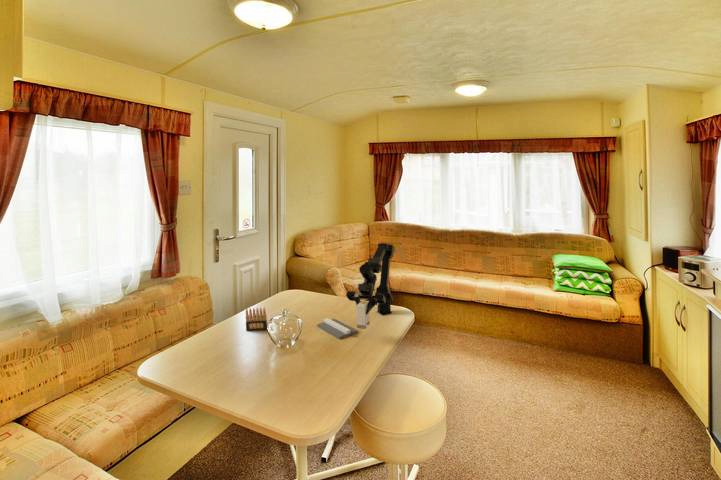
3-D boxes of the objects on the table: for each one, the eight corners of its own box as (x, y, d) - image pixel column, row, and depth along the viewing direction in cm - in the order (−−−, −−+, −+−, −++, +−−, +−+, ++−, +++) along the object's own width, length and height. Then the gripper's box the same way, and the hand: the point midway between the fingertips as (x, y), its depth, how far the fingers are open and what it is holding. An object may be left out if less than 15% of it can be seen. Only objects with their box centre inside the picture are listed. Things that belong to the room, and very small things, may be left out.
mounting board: (317, 326, 178) (316, 321, 178) (334, 320, 185) (334, 315, 184) (339, 339, 163) (339, 333, 162) (357, 332, 170) (357, 327, 169)
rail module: (361, 322, 166) (361, 298, 164) (369, 323, 165) (368, 299, 162) (357, 328, 160) (356, 303, 158) (365, 329, 159) (364, 304, 157)
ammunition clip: (268, 328, 178) (266, 306, 176) (267, 330, 176) (265, 307, 174) (247, 329, 177) (245, 307, 175) (246, 331, 175) (244, 308, 173)
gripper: (346, 274, 165) (338, 304, 157) (383, 277, 159) (376, 308, 150) (353, 285, 174) (345, 314, 166) (388, 288, 167) (382, 318, 159)
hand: (361, 313), depth 160 cm, fingers closed on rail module, 4 cm apart
